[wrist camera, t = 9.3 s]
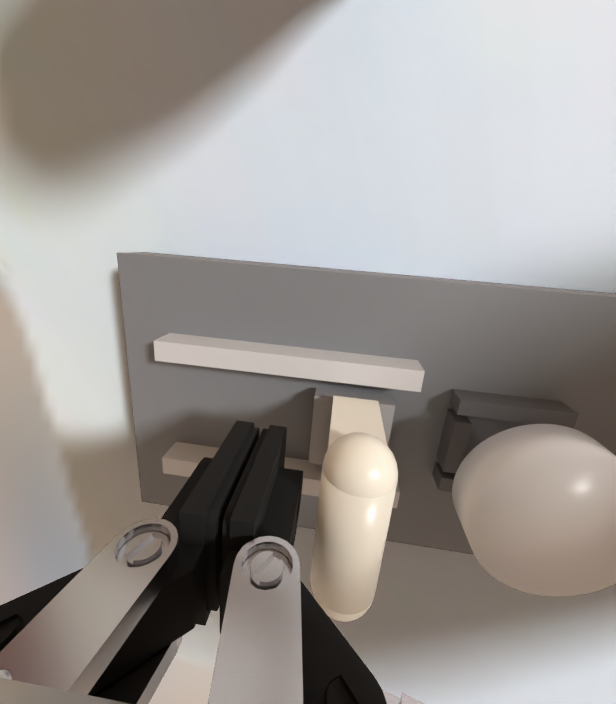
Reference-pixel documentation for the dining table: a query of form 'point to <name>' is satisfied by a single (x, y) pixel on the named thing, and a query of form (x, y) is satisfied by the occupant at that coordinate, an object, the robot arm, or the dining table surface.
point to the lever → (351, 498)
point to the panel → (356, 369)
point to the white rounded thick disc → (541, 509)
